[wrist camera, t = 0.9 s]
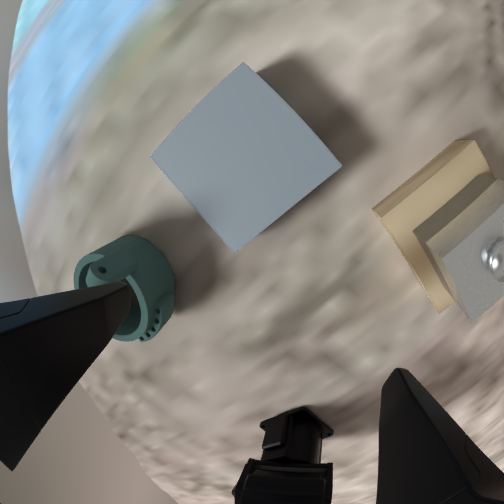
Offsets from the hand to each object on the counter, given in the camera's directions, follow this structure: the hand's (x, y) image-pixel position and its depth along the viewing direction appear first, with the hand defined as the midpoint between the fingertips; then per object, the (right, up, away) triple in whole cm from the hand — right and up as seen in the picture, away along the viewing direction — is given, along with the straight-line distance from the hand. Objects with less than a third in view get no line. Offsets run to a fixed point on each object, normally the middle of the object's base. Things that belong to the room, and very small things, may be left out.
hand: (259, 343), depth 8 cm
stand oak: (+15, +5, +10) cm, 18 cm away
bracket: (-11, 0, +17) cm, 20 cm away
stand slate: (0, +10, +11) cm, 15 cm away
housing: (+14, +4, +7) cm, 16 cm away
